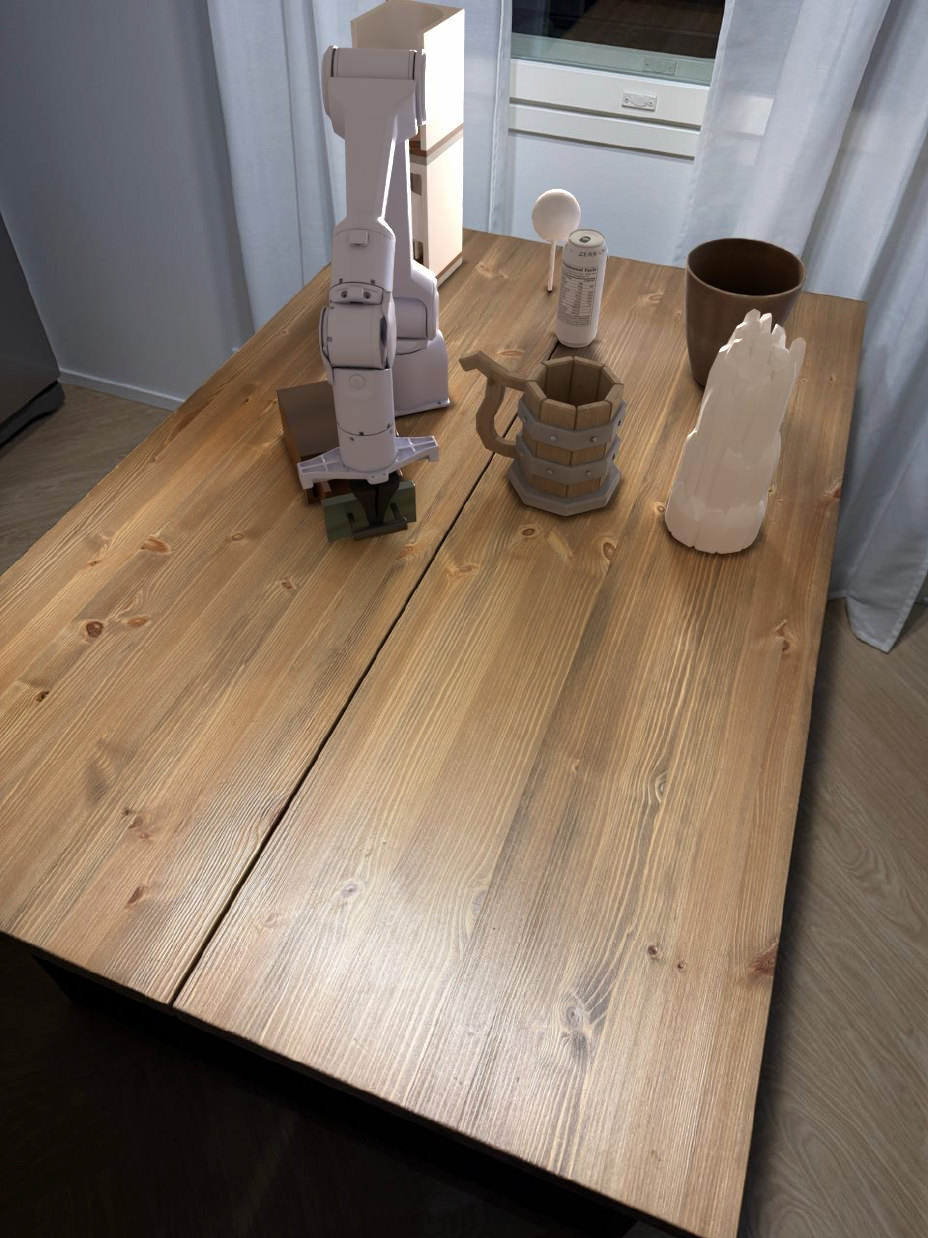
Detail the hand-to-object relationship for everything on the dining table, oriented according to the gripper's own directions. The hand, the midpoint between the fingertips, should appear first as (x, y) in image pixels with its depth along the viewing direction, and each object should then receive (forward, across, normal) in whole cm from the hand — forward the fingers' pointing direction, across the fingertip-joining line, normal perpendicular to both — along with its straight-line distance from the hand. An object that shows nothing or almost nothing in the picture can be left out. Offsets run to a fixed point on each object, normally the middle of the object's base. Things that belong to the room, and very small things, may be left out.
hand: (374, 521), depth 98 cm
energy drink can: (+3, +39, +32) cm, 51 cm away
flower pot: (+3, +54, +18) cm, 57 cm away
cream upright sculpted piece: (+4, +38, -8) cm, 39 cm away
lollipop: (+3, +41, +46) cm, 62 cm away
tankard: (+4, +22, +6) cm, 23 cm away
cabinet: (+4, 0, +16) cm, 17 cm away
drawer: (+3, 0, +6) cm, 7 cm away
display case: (+3, +23, +58) cm, 63 cm away
